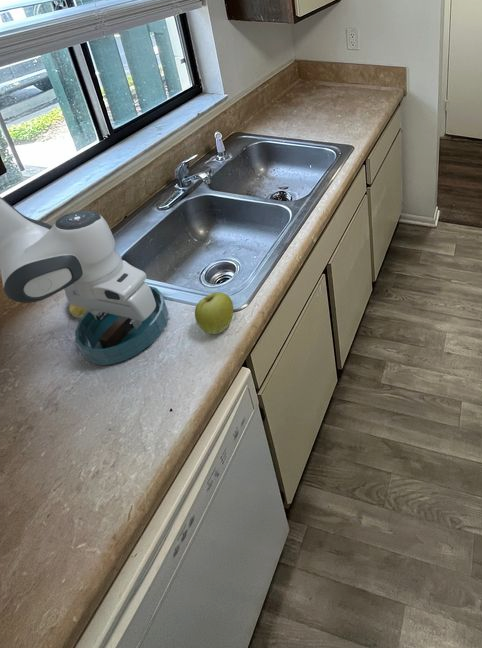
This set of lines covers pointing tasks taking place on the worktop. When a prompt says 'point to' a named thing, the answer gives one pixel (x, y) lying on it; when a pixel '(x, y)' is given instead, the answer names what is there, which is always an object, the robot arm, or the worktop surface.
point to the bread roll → (77, 311)
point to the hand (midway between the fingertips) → (119, 321)
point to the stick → (115, 332)
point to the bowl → (130, 344)
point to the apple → (214, 312)
